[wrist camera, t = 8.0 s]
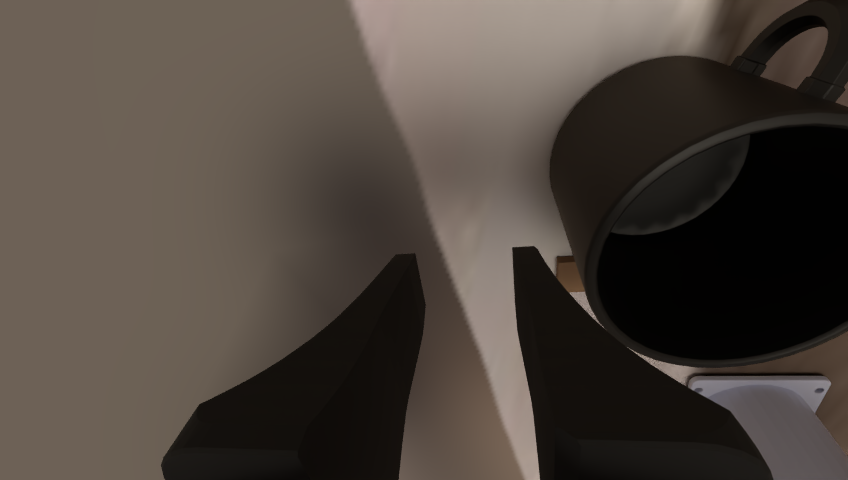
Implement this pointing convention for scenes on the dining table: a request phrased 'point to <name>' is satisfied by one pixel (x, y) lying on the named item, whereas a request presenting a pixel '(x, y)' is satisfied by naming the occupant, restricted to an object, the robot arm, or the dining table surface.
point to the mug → (714, 201)
